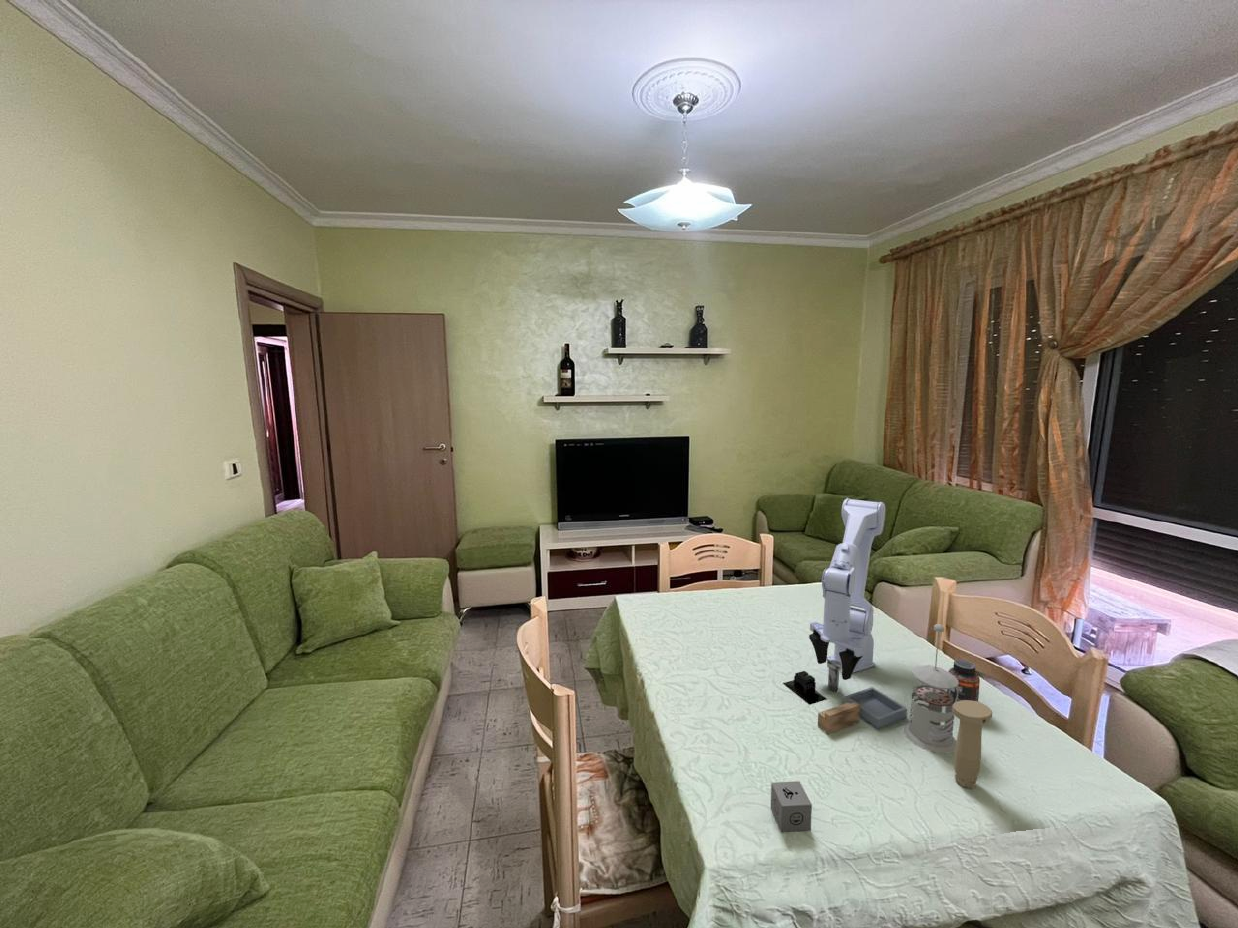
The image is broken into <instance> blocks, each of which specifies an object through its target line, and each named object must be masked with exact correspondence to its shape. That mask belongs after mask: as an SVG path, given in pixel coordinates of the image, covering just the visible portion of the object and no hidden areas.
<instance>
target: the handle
mask: <svg viewBox="0 0 1238 928" xmlns="http://www.w3.org/2000/svg"><path fill="white" fill-rule="evenodd" d="M952 712H953V714H954V717H956V718H957V719H959V724H958V731H957V737H956V738H957V739H956V741H957V742H956V748H955V751H954V759H953V760H954V773H955V774H954V780H955V782H956V783H957V784H959V785H960V786H961V787H963V788H969V789H974V788H975V787H976V783H977V780H978V777H979V774H980V769H981V762H982V730H983V726H985V725H986V724H988V723H989V722H990V721H991V719H992V718H993V713H994V712H993V710H992V708H991V707H989V706H987V705H986V704H984V703H982V702H980V701H978V702H977V701H971V700H962V701H957V702H955V703H954V704H953V705H952Z"/></svg>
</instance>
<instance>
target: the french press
mask: <svg viewBox="0 0 1238 928" xmlns="http://www.w3.org/2000/svg"><path fill="white" fill-rule="evenodd" d="M933 631H935V632H937V640H936V650H935V651H936V652H935V653H936V654H935V664H934V665H931V664H926V665H918V666H915V667H913V668H912V675H913V676H914V677H915V679H916V680H918V681H919V682H920V683H921V684H917V685H915V686H914V687H913V691H912V693H911V696H910V697H911V698H910V712H909V721H908V722H907V723H906V724H904V726H903V734H904V735H905V737H906V738H907V739H908V740H909V741H910V742H911V743H913V744H914V745H916V746H917V747H920V748H921V749H922V750H926V751H929V752H931V753H937V754H950V753H951V754H952V753H955V748H956V742H957V739H955V737H954V735H953V734H954V726H955V725H954V724H955V722H954V720H955V715H954V714H953V712H952V705H953V704H954V703H953V702H954V698H953V697H952V695H951V694H950V691H951V689H954V688H955V687H956V686H957V697H956V700H955V702H957V699H958V691H959V688H958V680H957V678H956V677H955V676H954V675H952V674H951V673H949V672H948V671H949V670H948V671H947V670H946V669H945V668H943V667H939V666H937V663H938V662H937V661H938V652H939V641H940V633H944V632H945V627H944V626H943V625H942V624H940V623H939V624H938V623H937V624H934V625H933ZM948 689H949V693H948V692H947V690H948ZM914 697H916V698H914ZM918 701H921V702H925V703H927V704H925V703H921V702H918ZM943 707H945V712H942V711H943ZM942 723H944V724H942ZM941 724H942V725H941Z"/></svg>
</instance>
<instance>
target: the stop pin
mask: <svg viewBox="0 0 1238 928" xmlns="http://www.w3.org/2000/svg"><path fill="white" fill-rule="evenodd" d="M826 667H827V668H828V671H827V672H828V673H827V677H828V678H827V690H828V691H829V692H831V693H838V692H839V687H840V686H839V685H840V684H839V683H840V670H842V668H841V663H840V662H838V661H835V660H826Z"/></svg>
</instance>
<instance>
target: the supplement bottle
mask: <svg viewBox="0 0 1238 928" xmlns="http://www.w3.org/2000/svg"><path fill="white" fill-rule="evenodd" d="M948 672H949V673H951V674H952V675H954V676H955V677H956V678H957V680H958V688H959V691H958V699H957V701H962V700H971V701H977V702H979V697H980V696H979V695H980V694H979V693H980V683H981V681H980V677H979V675H978V673H976V664H974V663H973V662H971V661H969V660H967V659H958V658H957V659H955V660H954V661H953V666H952V667H951V668H949V670H948ZM946 692H948V693H949V689H948V690H946ZM950 694H951V695H952V697H953V698H954V702H953V703H955V700H956V697H957V686H956V687H955V688H954V689H951V691H950Z"/></svg>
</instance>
